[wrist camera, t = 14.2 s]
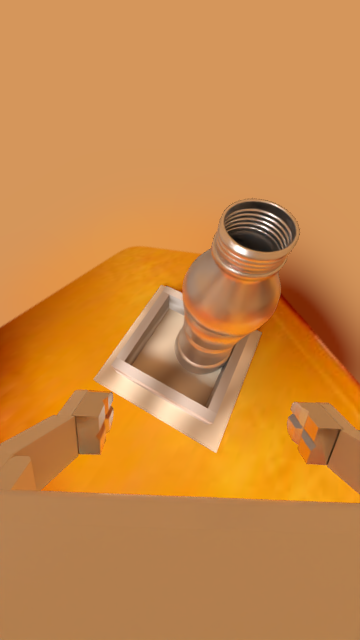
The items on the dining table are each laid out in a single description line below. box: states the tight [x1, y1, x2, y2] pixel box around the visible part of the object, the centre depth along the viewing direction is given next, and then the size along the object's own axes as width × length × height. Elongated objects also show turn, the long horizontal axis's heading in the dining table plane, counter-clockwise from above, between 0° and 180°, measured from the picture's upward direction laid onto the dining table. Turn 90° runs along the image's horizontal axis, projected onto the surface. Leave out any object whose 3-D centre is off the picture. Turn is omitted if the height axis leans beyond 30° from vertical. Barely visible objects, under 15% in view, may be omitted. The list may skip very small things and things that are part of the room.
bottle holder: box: [94, 285, 262, 453], centre depth 27 cm, size 16×16×4 cm
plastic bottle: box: [174, 199, 300, 375], centre depth 19 cm, size 6×7×20 cm
